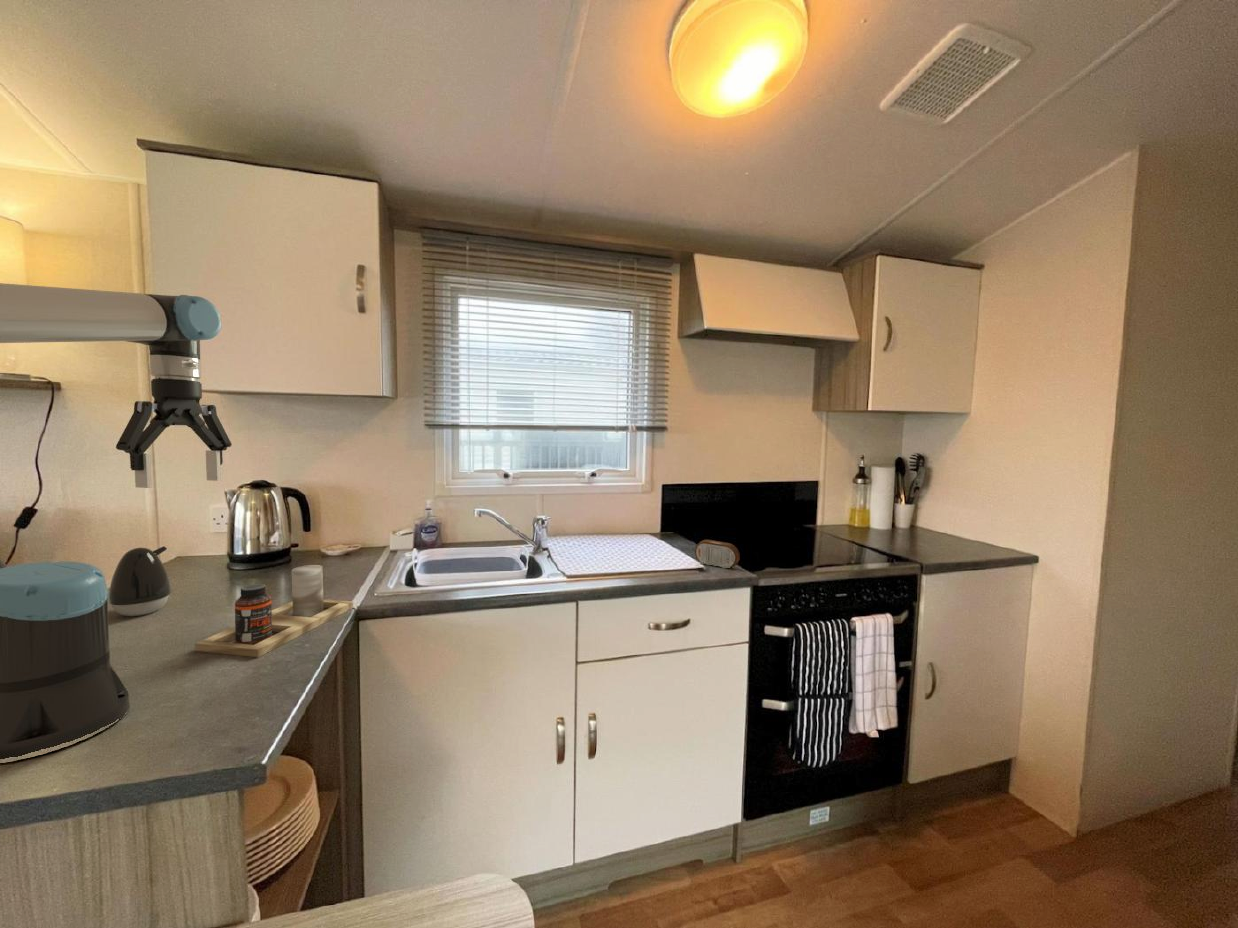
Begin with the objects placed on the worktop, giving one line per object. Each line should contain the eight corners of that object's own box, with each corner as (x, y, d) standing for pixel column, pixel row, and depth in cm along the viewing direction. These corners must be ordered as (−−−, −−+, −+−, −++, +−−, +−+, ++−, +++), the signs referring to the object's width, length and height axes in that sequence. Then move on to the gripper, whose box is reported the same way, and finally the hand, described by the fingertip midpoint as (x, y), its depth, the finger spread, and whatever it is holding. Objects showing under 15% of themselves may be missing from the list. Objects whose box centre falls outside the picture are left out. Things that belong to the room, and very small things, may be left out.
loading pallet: (258, 657, 91) (256, 600, 90) (195, 650, 93) (192, 595, 92) (353, 607, 117) (352, 563, 116) (302, 603, 119) (301, 559, 118)
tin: (739, 569, 157) (740, 543, 157) (736, 571, 154) (737, 545, 154) (696, 561, 165) (697, 537, 165) (693, 563, 162) (694, 539, 162)
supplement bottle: (252, 648, 94) (250, 592, 94) (227, 645, 95) (225, 590, 95) (279, 636, 100) (278, 583, 99) (256, 633, 101) (254, 581, 101)
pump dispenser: (183, 606, 115) (180, 544, 114) (129, 623, 105) (125, 555, 104) (153, 601, 118) (150, 540, 117) (98, 617, 108) (94, 551, 107)
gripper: (119, 371, 84) (125, 491, 85) (249, 385, 108) (252, 478, 110) (84, 371, 85) (90, 490, 86) (220, 385, 109) (223, 477, 111)
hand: (181, 483), depth 98 cm, fingers open, 13 cm apart
